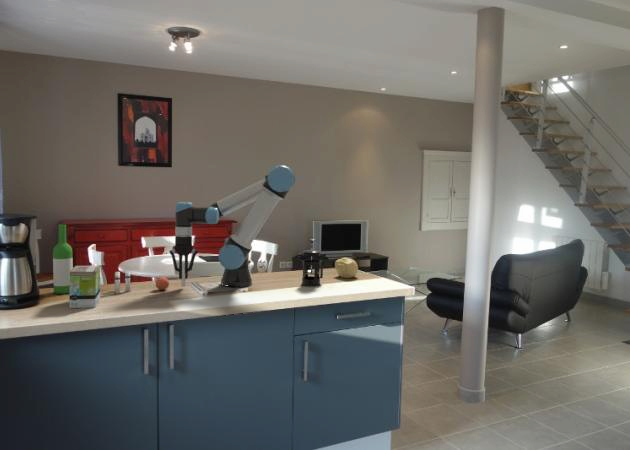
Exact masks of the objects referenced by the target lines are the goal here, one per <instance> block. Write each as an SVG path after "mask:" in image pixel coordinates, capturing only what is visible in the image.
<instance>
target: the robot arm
mask: <svg viewBox="0 0 630 450" xmlns="http://www.w3.org/2000/svg"><path fill="white" fill-rule="evenodd" d="M295 182H296V175H295V173H294V170H292V169H291V168H290V167H288V166H287V165H281V164H280V165H279V164H278V165H277V166H274V167H272V169H270V171H269V172H268V174H267V175H264V177H263V179H261V180H259V181H257V182H255V183H252V184H251V185H249V186H247V187H245V188H242V189H241V190H238V191H237V192H234V193H232V194H231V195H228V196H226V197H224V198H222V199H220V200H218V201H216V202H214V203H212V204H210V205H207V206H204V207H203V206H201V207H200V206H193V203H192V202H190V201H189V202H187V201H186V202H185V201H179V202H177V203H175V211H174V213H175V226H174V227H175V232H174V234H175V240H174V243H175V244H174V247H173V249H170V250H169V254H170V255H171V258H172V262H173V267H174V271H176V272H178V279H179V280H181V283H180V286H181V287H186V280H187V279H188V277H189V276H188V274H189V273H188V272H190V271H192V270H193V266H194V261H195V259H196V255H197V254H198V252H199V251H198V250H197V249H195V248H194V246H193V224H206V225H208V224H209V225H214V224H215V225H216V224H218V223H219V219H221V218H222V217H224V216H226V215H229V214H230V213H232V212H234V211H237V210H239V209H241V208H243V207H245V206H246V205H250V204H251V203H253V202H254V204H253V206H252V207H251V209H250V210H249V212H248V214H247V215H246V217H245V218H244V220H243V221H242V223H241V225H239V227H238V229H237V231H236V232H235V233H234V234H230V236H229V237H227V238H225V240H224V245H223V246H222V247H221V248H220V249H219V252H218V261H219V264H220V265H221V266H222V267H223V268H224V270H223V274H222V276H221V279H220V285H221V284H223V285H228V286H240V287H239V288H245V287H246V288H247V287H250V286H252V285H253V279H252V276H251V272H250V268H249V266H250V265H249V263H250V262H249V261H250V252H251V251H252V249H253V246H252V243H253V242H254V240H255V238H257V235H258V234H259V232H260V231H261V229H262V228H263V226H264V224H265V223H266V221H267V220H268V218H269V217H270V216H271V213H272V212H273V210H274V209H275V207H276V206H277V204H278V202H279V201H282V200H285V198H286V197H287V194H288V193H289V192H290V190H291V188H292V187H293V186H294V184H295ZM191 253H192V254H191ZM175 254H177V255H178V263H177V259H176V256H175ZM190 254H191V258H190V261H189V255H190ZM183 256H184V271H183Z"/></svg>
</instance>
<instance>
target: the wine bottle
mask: <svg viewBox="0 0 630 450" xmlns="http://www.w3.org/2000/svg"><path fill="white" fill-rule="evenodd" d="M52 264H53V266H52V272H53V275H52V276H53V277H52V278H53V292H54V293H55V294H57V295H63V294H70V271H71V270H72V269H73V268H74V267H73V265H74V264H73V247H72V246H71V245H70V244H69V243H67V224H58V243H57V244H56V245H55V246H54V248H53V250H52Z"/></svg>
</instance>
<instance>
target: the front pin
mask: <svg viewBox="0 0 630 450" xmlns="http://www.w3.org/2000/svg"><path fill="white" fill-rule="evenodd" d="M124 275H125V277H124V278H125V279H124V281H125V282H124V283H125V288H124V289H125V292H126V293H130V292H131V272H125V274H124Z"/></svg>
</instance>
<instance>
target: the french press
mask: <svg viewBox="0 0 630 450" xmlns="http://www.w3.org/2000/svg"><path fill="white" fill-rule="evenodd" d="M307 240H308V241H310V243H311V244H314V241H317V239H315V238H308V239H307ZM321 252H322V251H321V250H315V249H306V250H303V251H302V253H303V255H304V256H306V255H308V257H310V258H311V259H303V260H302V277H301V285H302V286H304V287H320V286H321V279H323V275H324V274H323V273H324V261H323V260H318V259H313V258H315V257H317V258H319V257H320V256H321ZM309 266H310V270H309ZM312 266H314V268H313V267H312ZM313 269H314V270H313ZM310 275H311V276H310Z"/></svg>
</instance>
